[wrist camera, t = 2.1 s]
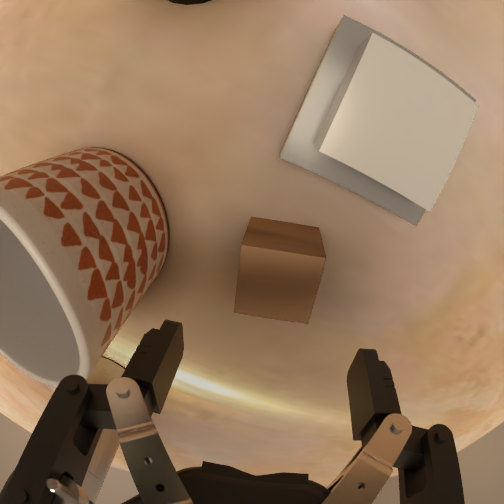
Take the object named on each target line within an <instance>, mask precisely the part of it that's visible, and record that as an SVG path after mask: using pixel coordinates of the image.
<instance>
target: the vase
mask: <svg viewBox="0 0 504 504" xmlns="http://www.w3.org/2000/svg"><path fill="white" fill-rule="evenodd" d="M167 249H168V225H167V219H166V215H165V211H164V208H163V205H162V202H161V200H160V198H159V196H158V194H157V192H156V190H155V188H154V186H153V185H152V183H151V182H150V180H149V179H148V178H147V176H146V175H145V174H144V173H143V172H142V171H141V170H140V169H139V168H138V167H137V166H136V165H135V164H134V163H133V162H131V161H130V160H129V159H127V158H126V157H124V156H122V155H120V154H118V153H116V152H114V151H111V150H107V149H103V148H85V149H80V150H76V151H73V152H69V153H66V154H63V155H60V156H56V157H53V158H50V159H47V160H44V161H41V162H38V163H35V164H32V165H29V166H27V167H24V168H21V169H19V170H16V171H13V172H11V173H8V174H6V175H3V176H1V177H0V353H1V354H2V355H3V356H4V357H5V358H6V359H7V360H8V361H9V362H10V363H12V364H13V365H14V366H15V367H16V368H18V369H19V370H20V371H22V372H23V373H25V374H26V375H28V376H30V377H31V378H33V379H35V380H37V381H39V382H41V383H43V384H46V385H48V386H51V387H55V388H57V386H58V385H59V383H60V381H61V380H62V379H63V378H64V377H66V376H68V375H73V374H75V375H80V376H82V377H84V378H85V379H86V380H87V379H88V377H89V376H90V374H91V373H92V371H93V369H94V368H95V366H96V365H97V363H98V362H99V360H100V358H101V357H102V355H103V354H104V352H105V351H106V349H107V348H108V346H109V345H110V343H111V342H112V340H113V339H114V337H115V336H116V334H117V333H118V331H119V330H120V328H121V327H122V325H123V324H124V322H125V321H126V319H127V318H128V316H129V315H130V313H131V312H132V311H133V309H134V308H135V306H136V305H137V303H138V302H139V300H140V299H141V298H142V296H143V295H144V293H145V292H146V291H147V289H148V288H149V286H150V285H151V284H152V282H153V281H154V279H155V278H156V277H157V275H158V273H159V272H160V270H161V268H162V266H163V264H164V261H165V258H166V254H167Z"/></svg>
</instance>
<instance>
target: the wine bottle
mask: <svg viewBox="0 0 504 504" xmlns="http://www.w3.org/2000/svg"><path fill="white" fill-rule="evenodd" d="M169 1H171V2H173V3H180V4H186V5H188V4H198V3H205V2H208V1H211V0H169Z"/></svg>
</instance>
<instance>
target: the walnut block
mask: <svg viewBox="0 0 504 504" xmlns="http://www.w3.org/2000/svg"><path fill="white" fill-rule="evenodd" d="M325 261H326V255H325V251H324V247H323V243H322V239H321V235H320V231H319V228H318V227H312V226H306V225H300V224H294V223H288V222H282V221H275V220H269V219H262V218H256V217H251V219H250V222H249V225H248V228H247V231H246V233H245V236H244V239H243V242H242V245H241V254H240V263H239V272H238V281H237V289H236V298H235V308H234V313H239V314H245V315H251V316H258V317H264V318H271V319H277V320H284V321H291V322H298V323H305V324H308V322H309V319H310V315H311V312H312V308H313V305H314V301H315V298H316V294H317V291H318V287H319V284H320V280H321V276H322V272H323V269H324V265H325Z"/></svg>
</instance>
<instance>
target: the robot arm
mask: <svg viewBox="0 0 504 504" xmlns="http://www.w3.org/2000/svg"><path fill="white" fill-rule="evenodd" d="M183 350H184V342H183V326H182V323H180V322H175V321H170V320H165V321H164V322H163V324H162V326H161V328H160V330H158V329H154V328H153V329H151V330H150V331H149V332H147V333H146V334H145V335H144V337H143V338H142V340H141V342H140V345H138V347H137V349H136V351H135V353H134V354H133V356H132V358H131V360H130V362H129V364H128V365H127V367H126V369H123V368H122V367H121V366H119V365H118V364H116V363H114V362H112V361H111V360H108V359H106V358H103V357H101V358H100V360H99V362H98V363H97V365H96V366H95V368H94V369H93V371H92V373H91V374H90V376H89V377H88V379H87V380H86V379H85V378H84V377H82V376H80V375H75V374H73V375H68V376H66V377H64V378H63V379H62V380H61V381H60V383H59V385H58V386H57V388H56V390H55V392H54V393H53V395H52V397H51V399H50V401H49V403H48V404H47V406H46V408H45V410H44V412H43V414H42V416H41V417H40V419H39V421H38V423H37V425H36V427H35V429H34V431H33V433H32V435H31V437H30V439H29V441H28V443H27V445H26V447H25V450H24V452H23V454H22V456H21V458H20V460H19V463H18V465H17V467H16V468H15V470H14V471H13V473H12V474H11V475H10V477H9V478H8V480H7V481H6V483H5V485H4V487H3V489H2V491H1V493H0V504H95V502H96V500H97V497H98V495H99V492H100V490H101V487H102V485H103V482H104V479H105V477H106V475H107V472H108V470H109V468H110V465H111V463H112V460H113V458H114V456H115V453H116V451H117V449H118V447H119V444H120V446H121V449H122V451H123V454H124V457H125V460H126V462H127V465H128V468H129V470H130V473H131V475H132V478H133V480H134V483H135V485H136V487H137V490H138V492H139V494H138V495H137V496H135V497H133V498H131V499H130V500H127V501H126V502H124V503H122V504H372V502H373V501H374V499H375V498H376V497H377V495H378V494H379V492H380V491H381V489H382V488H383V486H384V485H385V483H386V481H387V480H388V478H389V477H390V475H391V474H392V472H393V469H392V467H396V468H398V473H399V490H400V504H465V503H464V495H463V487H462V480H461V474H460V468H459V463H458V457H457V452H456V447H455V443H454V438H453V434H452V432H451V430H450V429H449V428H448V427H447V426H445V425H442V424H436V425H433V426H432V427H431V428H430V429H429V430H428V429H423V428H419V427H415V426H412V425H411V422H410V421H409V419H408V418H407V417H405V416H404V415H402V414H401V410H400V406H399V402H398V398H397V393H396V389H395V388H394V382H393V380H392V379H393V378H392V374H391V370H390V368H389V367H388V366H387V364H386V363H385V362H384V361H379V359H378V355H377V351H376V350H375V349H361V348H360V349H359V350H358V352H357V354H356V356H355V358H354V360H353V362H352V364H351V366H350V368H349V371H348V375H347V387H348V395H349V403H350V412H351V422H352V432H353V440H361V442H362V446H361V447H360V448H359V450H358V451H357V452H356V454H355V455H354V456H353V458H352V459H351V460H350V462H349V463H348V464H347V465H346V467H345V468H344V469H343V470H342V472H341V473H340V474H339V475H338V476H337V477H336V478H335V480H334V481H333V482H332V483H331V484H330V485H329V486H328V487H327V488H325V487H324V486H322V485H320V484H318V483H316V482H314V481H311V480H308V474H298V473H276V474H268V475H259V476H255V475H251V474H249V473H246V472H243V471H241V470H238V469H235V468H233V467H230V466H226V465H220V464H215V463H210V462H205V461H203V464H202V467H190V468H186V469H182V470H179V471H177V472H176V470H175V468H174V466H173V464H172V462H171V460H170V458H169V456H168V454H167V452H166V450H165V447H164V445H163V443H162V441H161V439H160V436H159V434H158V432H157V430H156V427H155V426H154V424H153V422H152V419H151V415H152V413H153V412H154V413H158V414H160V413H161V410H162V408H163V405H164V402H165V400H166V397H167V395H168V392H169V389H170V387H171V384H172V382H173V379H174V377H175V374H176V372H177V369H178V367H179V364H180V362H181V359H182V356H183Z"/></svg>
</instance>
